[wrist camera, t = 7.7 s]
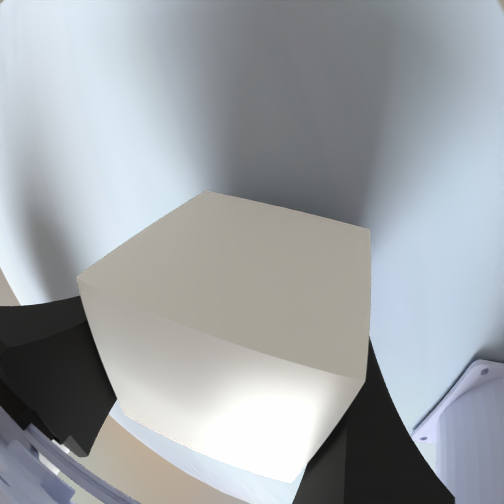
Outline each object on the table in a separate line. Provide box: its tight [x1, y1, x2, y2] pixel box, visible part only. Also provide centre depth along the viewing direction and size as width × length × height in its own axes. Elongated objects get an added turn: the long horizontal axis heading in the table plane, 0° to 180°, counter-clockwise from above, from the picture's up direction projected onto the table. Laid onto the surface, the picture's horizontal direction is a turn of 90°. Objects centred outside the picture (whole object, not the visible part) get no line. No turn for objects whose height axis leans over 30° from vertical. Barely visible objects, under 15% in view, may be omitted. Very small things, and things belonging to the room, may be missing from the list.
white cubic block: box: [76, 191, 371, 483], centre depth 9 cm, size 6×6×6 cm
